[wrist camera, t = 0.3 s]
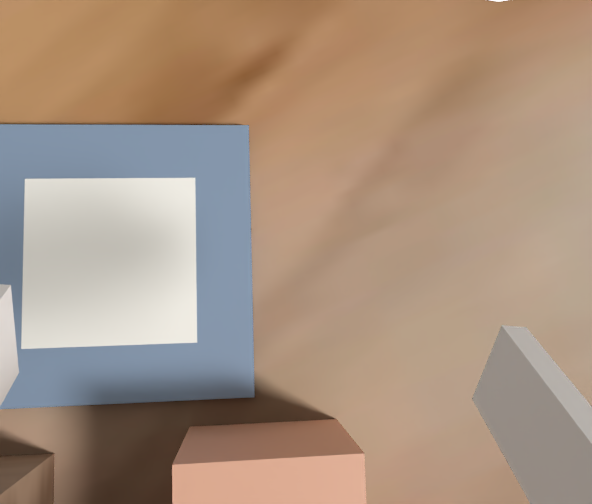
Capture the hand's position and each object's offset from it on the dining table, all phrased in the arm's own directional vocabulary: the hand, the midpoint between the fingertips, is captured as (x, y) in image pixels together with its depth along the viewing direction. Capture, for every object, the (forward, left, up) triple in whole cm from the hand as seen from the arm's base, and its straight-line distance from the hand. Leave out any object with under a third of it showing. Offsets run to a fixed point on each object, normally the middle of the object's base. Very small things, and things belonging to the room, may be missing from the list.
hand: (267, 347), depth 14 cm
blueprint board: (+4, +8, -15) cm, 17 cm away
